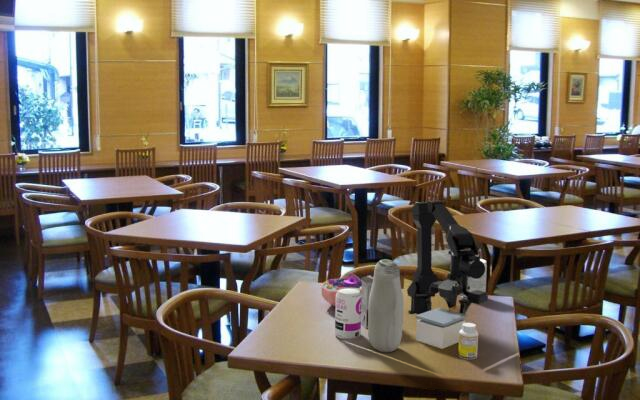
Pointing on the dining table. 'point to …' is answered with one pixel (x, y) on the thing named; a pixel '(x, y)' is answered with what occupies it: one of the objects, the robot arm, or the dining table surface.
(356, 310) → the supplement can
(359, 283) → the cell model
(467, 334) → the supplement bottle
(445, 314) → the lid
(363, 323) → the coffee box
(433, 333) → the tub
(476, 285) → the supplement tub
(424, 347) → the dining table surface
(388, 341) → the grey tall bottle
